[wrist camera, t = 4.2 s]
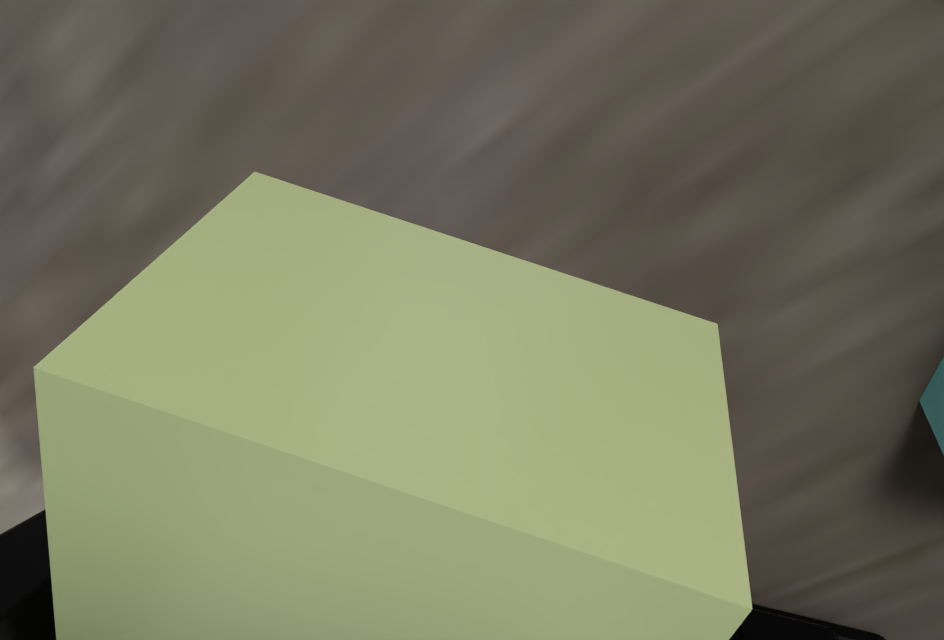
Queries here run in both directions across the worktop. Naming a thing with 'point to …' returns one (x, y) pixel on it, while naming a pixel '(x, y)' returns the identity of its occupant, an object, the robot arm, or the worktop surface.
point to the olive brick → (383, 444)
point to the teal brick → (935, 404)
